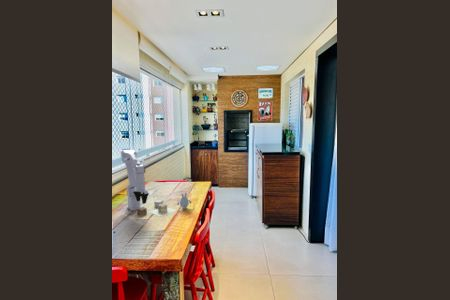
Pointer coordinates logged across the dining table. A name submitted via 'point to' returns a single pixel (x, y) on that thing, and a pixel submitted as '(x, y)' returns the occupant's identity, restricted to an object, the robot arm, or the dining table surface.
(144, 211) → the walnut block
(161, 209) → the maple block
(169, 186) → the dining table surface
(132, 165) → the robot arm
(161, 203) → the grey block
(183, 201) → the toy figure
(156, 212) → the station board
